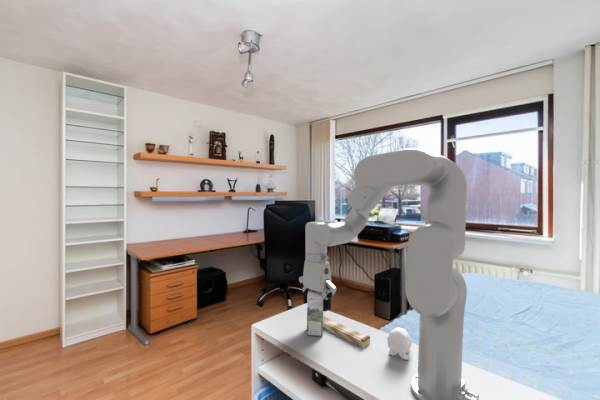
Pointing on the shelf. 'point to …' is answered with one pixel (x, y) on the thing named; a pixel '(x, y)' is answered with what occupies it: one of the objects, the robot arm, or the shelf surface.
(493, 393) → the shelf surface
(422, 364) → the robot arm
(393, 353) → the white figurine
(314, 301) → the syrup box
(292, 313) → the shelf surface
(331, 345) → the shelf surface
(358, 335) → the plank
